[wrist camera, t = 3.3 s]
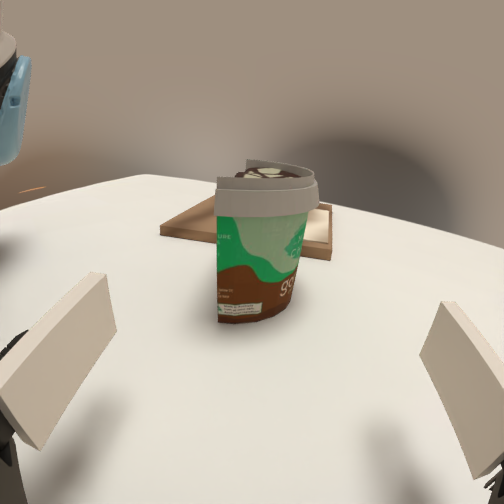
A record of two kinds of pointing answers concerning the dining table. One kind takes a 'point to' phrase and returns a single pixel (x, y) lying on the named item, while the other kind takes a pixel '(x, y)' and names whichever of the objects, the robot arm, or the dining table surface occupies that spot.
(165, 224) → the board
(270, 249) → the food container
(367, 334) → the dining table surface
